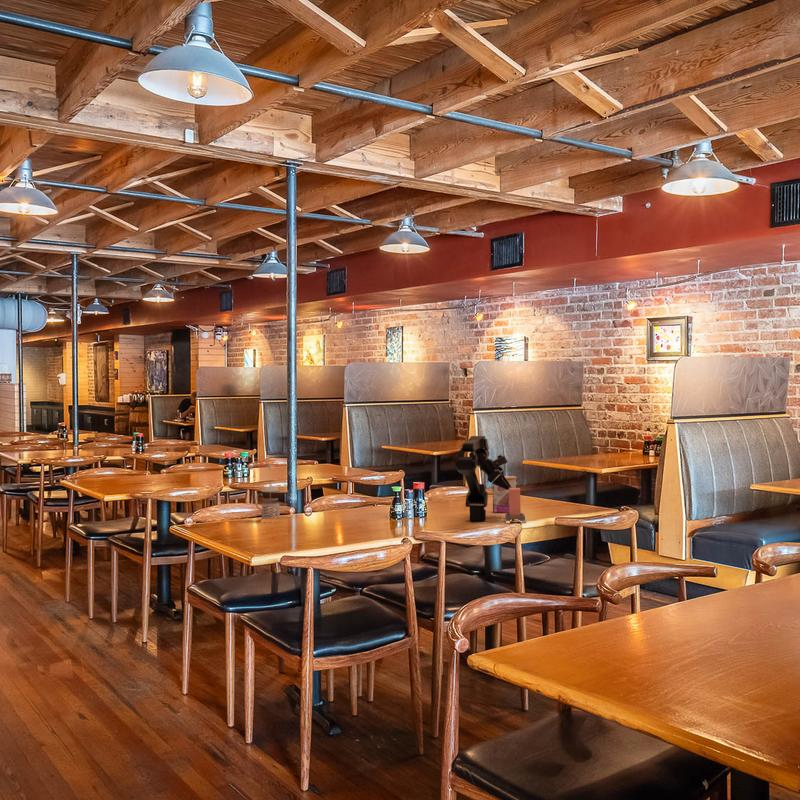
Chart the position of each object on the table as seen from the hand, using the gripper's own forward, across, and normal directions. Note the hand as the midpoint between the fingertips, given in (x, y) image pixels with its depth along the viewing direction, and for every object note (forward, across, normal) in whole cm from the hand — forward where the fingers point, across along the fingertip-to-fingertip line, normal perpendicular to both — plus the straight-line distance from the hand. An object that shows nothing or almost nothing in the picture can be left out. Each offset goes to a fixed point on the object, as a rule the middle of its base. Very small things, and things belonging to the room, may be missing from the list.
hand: (509, 487), depth 361 cm
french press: (-65, -12, +84) cm, 107 cm away
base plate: (+11, -7, +8) cm, 15 cm away
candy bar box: (+8, +20, +12) cm, 24 cm away
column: (+11, -7, +7) cm, 15 cm away
